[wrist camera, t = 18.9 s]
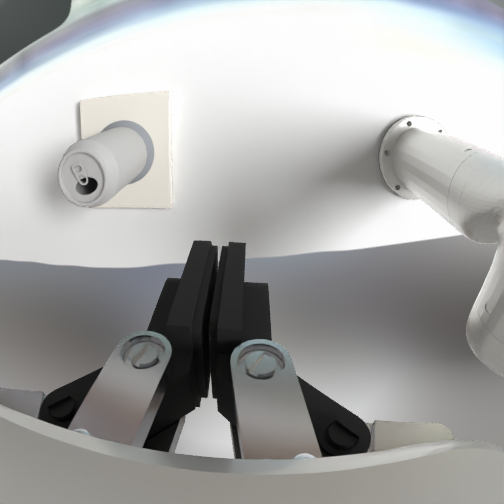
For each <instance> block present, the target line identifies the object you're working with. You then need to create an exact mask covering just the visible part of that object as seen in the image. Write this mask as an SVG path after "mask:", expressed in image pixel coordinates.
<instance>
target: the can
mask: <svg viewBox="0 0 504 504" xmlns="http://www.w3.org/2000/svg"><path fill="white" fill-rule="evenodd" d="M146 159H147V150H146V145H145V143H144V141H143V139H142V137H141V136H140V135H139V134H138V133H137V132H136V131H134V130H132V129H130V128H126V127H117V128H112V129H109V130H107V131H104V132H101V133H98V134H96V135H93V136H91V137H88V138H85V139H83V140H80V141H78V142H76V143H75V144H73V145H72V146H70V147H69V148H68V150H67V151H66V153H65V154H64V156H63V159H62V160H61V163H60V166H59V169H58V181H59V185H60V188H61V190H62V192H63V194H64V195H65V196H66V198H67V199H68V200H69V201H70V202H72V203H74V204H75V205H78V206H82V207H97V206H101V205H103V204H105V203H107V202H108V201H109V200H110V199H111V198H113V197H114V196H115V195H116V194H117V193H118V192H119V191H120V190H121V189H123V188H124V187H125V186H126V185H127V184H128V183H130V182H131V181H132V180H133V179H134V178H135V177H137V176H138V175H139V174H140V173H141V172H142V170H143V168H144V166H145V164H146Z"/></svg>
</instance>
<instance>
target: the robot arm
mask: <svg viewBox="0 0 504 504" xmlns="http://www.w3.org/2000/svg"><path fill="white" fill-rule="evenodd" d="M407 122H408V123H407ZM385 151H386V153H384V152H385ZM379 163H380V170H381V173H382V176H383V178H384V180H385V181H386V183H387V184H388V186H389V187H390V188H391V189H392V190H393V191H394V192H395V193H397V194H399V195H400V196H402V197H404V198H407V199H413V200H415V199H421V200H422V201H424V202H425V203H426V204H427V205H429V206H430V207H431V208H432V209H434V210H435V211H436V212H437V213H438V214H440V215H441V216H442V217H443V218H444V219H445V220H447V221H448V222H449V223H450V224H451V225H452V226H453V227H455V228H456V229H457V230H458V231H459V232H460V233H462V234H463V235H464V236H465V237H467V238H468V239H470V240H472V241H474V242H477V243H483V244H493V243H499V245H498V248H497V251H496V254H495V256H494V259H493V263H492V265H491V268H490V270H489V272H488V275H487V277H486V279H485V281H484V284H483V286H482V288H481V291H480V292H479V294H478V297H477V299H476V301H475V303H474V305H473V308H472V310H471V312H470V314H469V317H468V321H467V327H466V334H467V340H468V343H469V345H470V347H471V349H472V350H473V352H474V354H475V355H476V356H477V357H478V359H479V360H480V361H482V363H484V364H485V365H486V366H487V367H489V368H490V369H491V370H493V371H494V372H496V373H497V374H499V375H500V376H502V377H504V158H502V157H499V156H497V155H495V154H493V153H490V152H488V151H486V150H483V149H481V148H479V147H476V146H474V145H471V144H469V143H466V142H464V141H461V140H459V139H456V138H453V137H451V136H448V135H447V134H446V132H445V131H444V129H443V128H442V127H441V126H440V125H439V124H438V123H437V122H435V121H434V120H432V119H429V118H427V117H423V116H409V117H405V118H403V119H400V120H399V121H397V122H396V123H395V124H393V125H392V127H391V128H390V129H389V130H388V131H387V133H386V135H385V136H384V138H383V141H382V144H381V148H380V152H379ZM396 185H397V186H396ZM245 247H246V243H237V242H229V246H222V250H221V256H220V262H219V267H218V248H217V246H212V244H211V241H194V242H193V245H192V248H191V251H190V254H189V256H188V259H187V262H186V265H185V268H184V271H183V274H182V277H181V279H179V278H168V279H167V280H166V282H165V285H164V287H163V290H162V292H161V295H160V297H159V300H158V303H157V305H156V308H155V311H154V313H153V316H152V319H151V322H150V324H149V327H148V330H147V331H140V332H135V333H132V334H130V335H128V336H126V337H125V338H123V339H122V340H121V341H120V342H119V343H118V345H117V346H116V348H115V349H114V351H113V353H112V354H111V356H110V358H109V359H108V361H107V363H106V364H105V366H104V367H102V368H100V369H98V370H96V371H94V372H92V373H90V374H88V375H86V376H84V377H81V378H79V379H77V380H75V381H73V382H72V383H69V384H67V385H65V386H63V387H60V388H58V389H56V390H54V391H53V392H51V393H50V394H48V395H45V394H44V392H41V391H29V390H18V389H9V388H0V504H504V449H502V448H500V447H498V446H497V445H494V444H491V443H486V442H481V441H474V440H454V437H453V434H452V433H451V432H450V430H449V429H448V428H447V427H445V426H443V425H442V424H437V423H414V422H392V421H379V420H375V421H374V423H365V422H364V421H363V420H361V419H360V418H359V417H358V416H356V415H355V414H353V413H352V412H350V411H349V410H347V409H346V408H344V407H342V406H341V405H339V404H338V403H336V402H335V401H333V400H332V399H330V398H329V397H327V396H326V395H324V394H323V393H321V392H320V391H318V390H317V389H316V388H314V387H313V386H311V385H309V384H308V383H307V382H305V381H304V380H303V379H301V378H300V377H298V376H297V374H296V371H295V368H294V365H293V362H292V359H291V357H290V355H289V353H288V351H287V350H286V349H285V348H284V347H283V346H281V345H280V344H278V343H276V342H273V341H272V339H271V323H270V306H269V291H268V284H267V283H250V282H244V270H245ZM210 374H211V381H212V394H213V398H215V399H217V403H218V404H217V405H218V411H219V412H220V413H221V414H222V415H223V416H224V417H225V418H226V419H227V420H228V421H229V422H230V429H231V437H232V444H233V452H234V459H227V458H212V457H202V456H192V455H183V454H175V453H174V452H175V449H176V446H177V443H178V440H179V437H180V435H181V431H182V429H183V426H184V423H185V417H186V416H185V415H186V414H188V413H189V412H191V411H193V410H194V409H195V407H200V401H201V397H202V398H207V397H208V390H209V382H210Z"/></svg>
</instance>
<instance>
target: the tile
mask: <svg viewBox="0 0 504 504" xmlns="http://www.w3.org/2000/svg"><path fill="white" fill-rule="evenodd" d="M171 116H172V91H163V92H148V93H135V94H125V95H116V96H108V97H100V98H93V99H86V100H80V118H81V137H82V140H83V139H85V138H88V137H91V136H93V135H96V134H98V133H101V132H104V131H107V130H109V129H112V128H117V127H126V128H130V129H132V130H134V131H136V132H137V133H138V134H139V135H140V136H141V137H142V139H143V141H144V143H145V145H146V150H147V159H146V164H145V166H144V168H143V170H142V172H141V173H140V174H139V175H138V176H137V177H135V178H134V179H133V180H132V181H131V182H130V183H128V184H127V185H126V186H125V187H124V188H123V189H121V190H120V191H119V192H118V193H117V194H116V195H115V196H114V197H113V198H111V199H110V200H109V201H108V202H107V203H105V204H103V205H101V206H97V207H89V208H171V207H172V206H173V186H172V140H171Z"/></svg>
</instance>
